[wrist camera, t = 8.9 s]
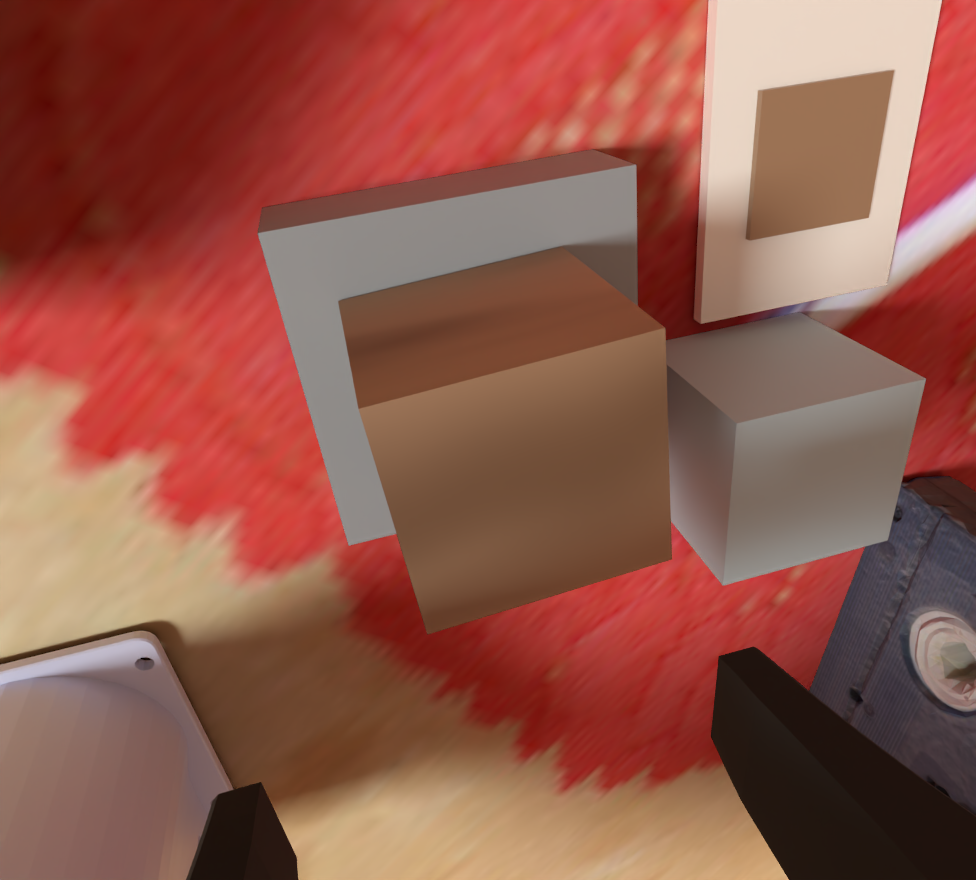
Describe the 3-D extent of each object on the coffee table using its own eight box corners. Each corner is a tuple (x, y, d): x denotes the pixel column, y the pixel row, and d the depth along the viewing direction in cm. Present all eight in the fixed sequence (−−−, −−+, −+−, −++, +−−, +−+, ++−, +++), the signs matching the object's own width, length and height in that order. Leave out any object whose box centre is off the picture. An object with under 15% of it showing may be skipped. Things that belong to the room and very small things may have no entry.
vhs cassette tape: (810, 781, 35) (976, 1016, 27) (759, 792, 34) (912, 1036, 26) (956, 467, 26) (1270, 669, 18) (890, 473, 25) (1187, 685, 17)
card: (877, 281, 21) (892, 287, 20) (693, 319, 20) (704, 326, 20) (936, -40, 17) (956, -43, 16) (709, -11, 16) (722, -12, 15)
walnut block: (581, 436, 18) (671, 559, 14) (393, 489, 17) (427, 634, 13) (561, 246, 15) (666, 327, 11) (338, 300, 15) (358, 408, 11)
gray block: (779, 450, 24) (887, 540, 19) (642, 485, 23) (722, 585, 19) (797, 310, 21) (926, 378, 17) (642, 343, 20) (736, 423, 16)
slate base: (598, 422, 22) (639, 472, 19) (341, 483, 20) (348, 545, 18) (586, 146, 17) (636, 164, 15) (262, 203, 16) (258, 232, 14)
